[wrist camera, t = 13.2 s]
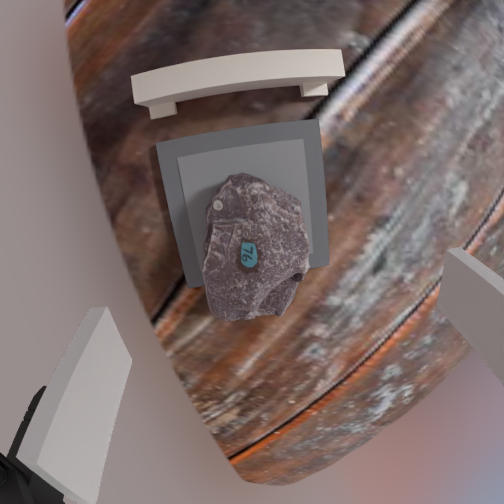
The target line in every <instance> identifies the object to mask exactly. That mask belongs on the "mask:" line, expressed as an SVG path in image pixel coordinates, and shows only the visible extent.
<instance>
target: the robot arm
mask: <svg viewBox="0 0 504 504" xmlns="http://www.w3.org/2000/svg"><path fill="white" fill-rule="evenodd" d="M436 307H437V308H438V309H439V310H440V311H441V312H442V313H443V314H444V316H445V317H446V318H447V319H448V320H449V321H450V322H451V323H452V324H453V326H454V327H455V328H456V329H457V330H458V331H459V332H460V333H461V335H462V336H463V337H464V338H465V339H466V340H467V341H468V343H469V344H470V345H471V346H472V347H473V348H474V350H475V351H476V352H477V353H478V354H479V355H480V357H481V358H482V359H483V360H484V362H485V363H486V364H487V365H488V367H489V368H490V369H491V370H492V372H493V373H494V374H495V375H496V377H497V378H498V379H499V380H500V382H501V383H502V384H503V386H504V279H502V278H501V277H500V276H498V275H497V274H496V273H494V272H493V271H492V270H491V269H489V268H488V267H487V266H485V265H484V264H482V263H481V262H480V261H478V260H477V259H476V258H474V257H473V256H471V255H470V254H469V253H467V252H466V251H464V250H463V249H462V248H460V247H457V248H453V249H448V250H446V256H445V263H444V269H443V275H442V281H441V286H440V291H439V296H438V301H437V306H436ZM131 364H132V359H131V357H130V355H129V353H128V351H127V349H126V346H125V344H124V342H123V340H122V338H121V336H120V334H119V332H118V329H117V327H116V325H115V323H114V320H113V318H112V316H111V314H110V311H109V309H108V307H107V306H104V307H95V308H90V310H89V311H88V313H87V315H86V316H85V318H84V319H83V321H82V323H81V325H80V326H79V328H78V330H77V332H76V333H75V335H74V337H73V338H72V340H71V342H70V344H69V345H68V347H67V349H66V351H65V353H64V355H63V356H62V358H61V360H60V362H59V364H58V366H57V368H56V370H55V372H54V374H53V375H52V377H51V379H50V381H49V383H48V385H47V386H43V387H42V388H41V389H40V390H39V391H38V392H37V393H36V395H35V396H34V397H33V399H32V401H31V403H30V405H29V407H28V411H27V412H26V414H25V416H24V421H22V422H21V424H20V427H19V429H18V431H17V434H16V436H15V438H14V441H13V443H12V445H11V448H10V450H9V453H8V455H7V457H5V456H4V455H3V454H1V453H0V504H65V503H64V502H63V497H64V495H65V496H66V497H68V498H69V499H71V500H72V501H74V502H75V503H79V504H97V498H98V493H99V488H100V483H101V478H102V473H103V468H104V464H105V460H106V456H107V451H108V447H109V443H110V439H111V435H112V431H113V427H114V423H115V419H116V415H117V412H118V408H119V405H120V401H121V398H122V394H123V391H124V387H125V384H126V380H127V377H128V374H129V371H130V367H131Z"/></svg>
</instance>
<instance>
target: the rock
mask: <svg viewBox="0 0 504 504" xmlns="http://www.w3.org/2000/svg"><path fill="white" fill-rule="evenodd" d="M206 219H207V229H206V238H205V240H204V259H203V263H202V274H203V280H204V283H205V291H206V297H207V302H208V306H209V309H210V311H211V313H212V314H213V315H214V316H215V317H217V318H218V319H221V320H225V321H234V320H237V319H254V318H255V316H260V315H270V314H273V315H276V316H283V315H284V313H285V310H286V309H287V308H288V306H289V305H290V303H291V301H292V299H293V298H294V296H295V293H296V289H297V286H298V283H299V282H300V281H302V280H303V279H304V276H305V274H306V272H307V270H308V269H309V268H310V265H309V246H310V245H309V242H308V237H307V233H306V228H305V221H304V218H303V215H302V207H301V202H300V200H299V199H297V198H296V197H295V196H293V195H291V194H289V193H287V192H285V191H283V190H281V189H278V188H276V187H274V186H270V185H269V184H268V183H266V182H265V181H264V180H262V179H261V178H258V177H254V176H252V175H250V174H246V173H239V174H238V175H229V176H228V178H227V179H226V181H225V183H224V185H221V186H219V187H218V188H217V190H216V194H215V196H214V198H213V199H212V200H211V201H210V202H209V204H208V205H207V207H206Z"/></svg>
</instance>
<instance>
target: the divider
mask: <svg viewBox="0 0 504 504" xmlns="http://www.w3.org/2000/svg"><path fill="white" fill-rule="evenodd" d="M344 76H345V71H344V65H343V59H342V53H341V50H333V49H304V50H279V51H265V52H254V53H244V54H236V55H228V56H221V57H214V58H208V59H202V60H197V61H191V62H186V63H181V64H177V65H172V66H168V67H163V68H159V69H155V70H151V71H147V72H144V73H140V74H136V75H133V76H131V82H132V89H133V96H134V103H135V104H138V105H142V106H146V107H149V111H150V117H151V119H158V118H162V117H166V116H171V115H175V114H178V113H177V107H176V102H180V101H185V100H190V99H195V98H200V97H206V96H212V95H218V94H224V93H231V92H238V91H246V90H254V89H263V88H274V87H286V86H300V93H301V97H310V96H325V95H328V90H327V83H328V82H331V81H333V80H336V79H339V78H342V77H344Z"/></svg>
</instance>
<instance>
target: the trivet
mask: <svg viewBox="0 0 504 504" xmlns="http://www.w3.org/2000/svg"><path fill="white" fill-rule="evenodd" d="M156 148H157V154H158V159H159V164H160V169H161V174H162V179H163V184H164V189H165V194H166V198H167V203H168V208H169V212H170V217H171V221H172V225H173V230H174V234H175V238H176V242H177V246H178V250H179V254H180V258H181V262H182V266H183V270H184V274H185V278H186V281H187V285H188V288H195V287H201V286H205V283H204V280H203V274H202V263H203V259H204V240H205V238H206V229H207V219H206V207H207V205H208V204H209V202H210V201H211V200H212V199H213V198H214V196H215V194H216V190H217V188H218V187H219V186H221V185H224V183H225V181H226V179H227V178H228V176H229V175H238V174H239V173H246V174H250V175H252V176H254V177H258V178H261V179H262V180H264V181H265V182H266V183H268V184H269V185H270V186H274V187H276V188H278V189H281V190H283V191H285V192H287V193H289V194H291V195H293V196H295V197H296V198H297V199H299V200H300V202H301V207H302V215H303V218H304V221H305V228H306V233H307V237H308V242H309V245H310V246H309V265H310V268H316V267H321V266H327V265H329V244H328V222H327V205H326V191H325V178H324V166H323V155H322V145H321V135H320V127H319V119H314V120H301V121H290V122H280V123H270V124H262V125H254V126H247V127H240V128H233V129H226V130H220V131H214V132H208V133H203V134H197V135H192V136H187V137H182V138H177V139H173V140H168V141H163V142H159V143H156ZM310 268H309V269H310Z"/></svg>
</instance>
